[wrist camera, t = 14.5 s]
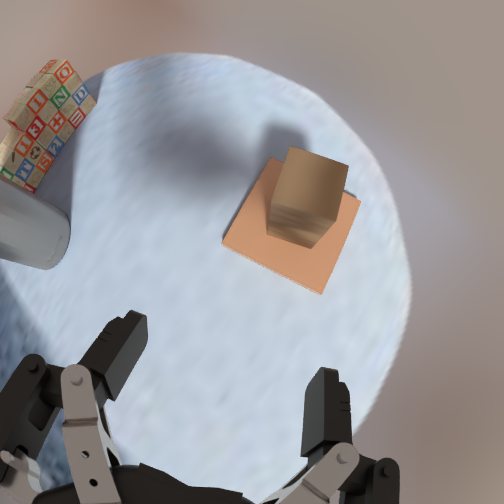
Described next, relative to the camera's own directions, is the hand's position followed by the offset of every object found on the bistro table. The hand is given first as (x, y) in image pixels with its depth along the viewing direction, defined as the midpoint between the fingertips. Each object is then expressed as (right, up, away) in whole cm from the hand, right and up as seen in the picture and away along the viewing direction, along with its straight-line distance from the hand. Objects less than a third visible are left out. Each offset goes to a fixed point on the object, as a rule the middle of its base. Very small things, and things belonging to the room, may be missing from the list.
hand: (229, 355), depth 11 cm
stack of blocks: (-34, +23, +24) cm, 47 cm away
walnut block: (+6, +8, +18) cm, 21 cm away
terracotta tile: (+6, +8, +20) cm, 22 cm away
